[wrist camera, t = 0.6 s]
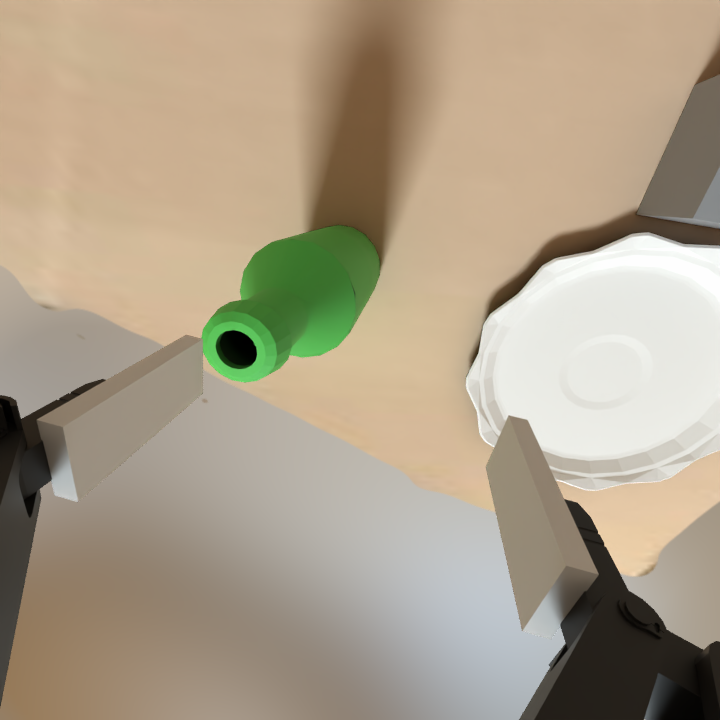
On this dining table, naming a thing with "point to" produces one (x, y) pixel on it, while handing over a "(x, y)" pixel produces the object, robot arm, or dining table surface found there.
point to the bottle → (293, 302)
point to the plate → (609, 361)
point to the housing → (690, 164)
